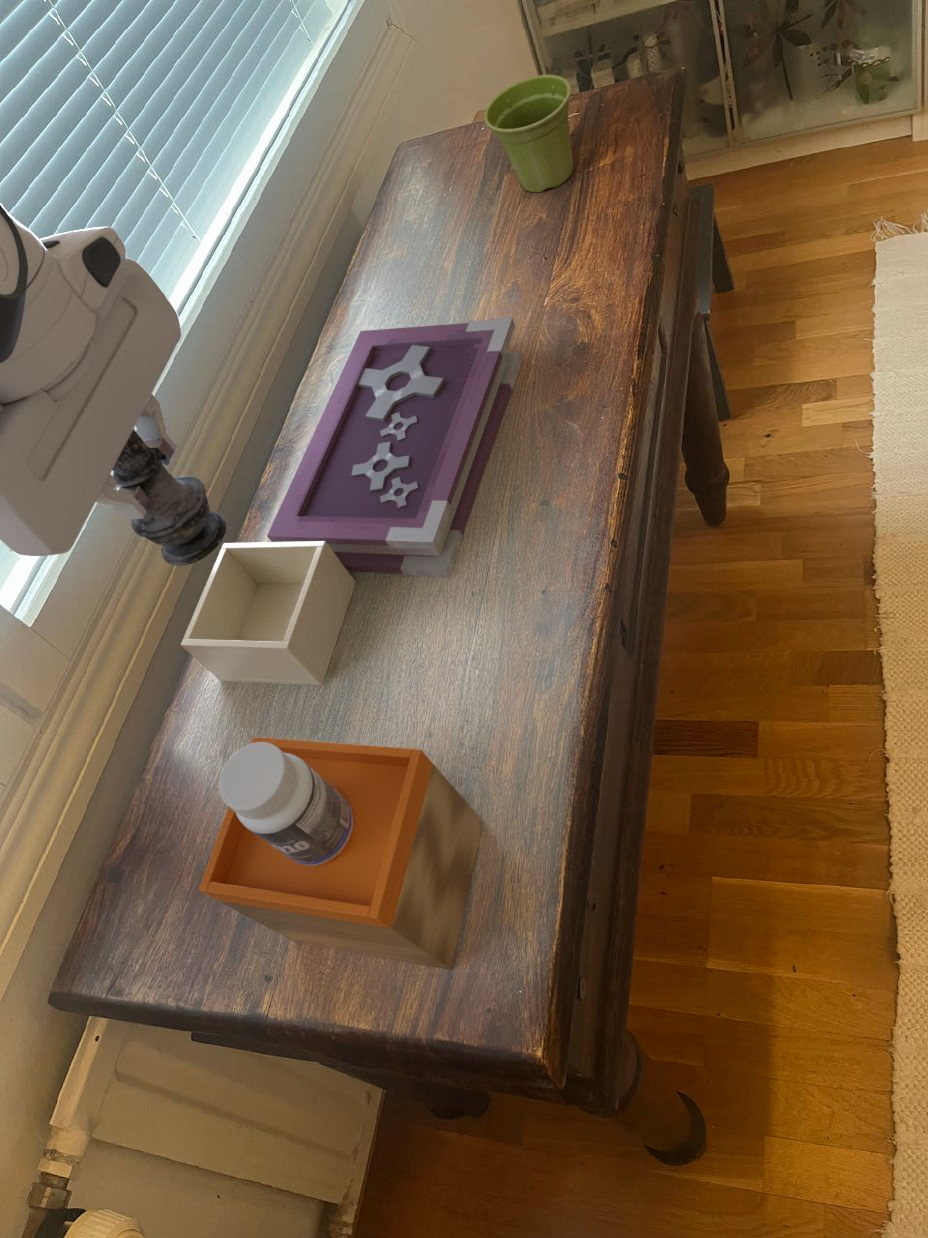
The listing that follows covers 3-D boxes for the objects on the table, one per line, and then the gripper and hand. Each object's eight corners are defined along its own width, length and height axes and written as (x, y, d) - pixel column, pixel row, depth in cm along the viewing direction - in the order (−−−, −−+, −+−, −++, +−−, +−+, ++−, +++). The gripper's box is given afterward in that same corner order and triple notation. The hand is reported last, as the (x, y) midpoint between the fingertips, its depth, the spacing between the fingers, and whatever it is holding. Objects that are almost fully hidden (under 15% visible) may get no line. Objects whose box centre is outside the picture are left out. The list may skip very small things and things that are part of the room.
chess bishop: (193, 577, 66) (89, 453, 57) (143, 558, 69) (38, 438, 60) (245, 518, 68) (153, 390, 59) (194, 502, 71) (100, 379, 62)
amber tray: (392, 928, 52) (377, 918, 50) (216, 900, 57) (197, 890, 55) (433, 763, 57) (421, 749, 55) (268, 750, 61) (253, 736, 60)
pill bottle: (272, 856, 56) (196, 804, 50) (305, 785, 58) (236, 726, 52) (336, 877, 54) (265, 826, 47) (368, 803, 56) (304, 744, 49)
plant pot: (605, 155, 103) (588, 77, 96) (554, 209, 100) (533, 134, 94) (541, 144, 108) (520, 71, 101) (491, 196, 106) (467, 124, 99)
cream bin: (322, 686, 76) (286, 648, 71) (220, 680, 80) (180, 645, 75) (356, 582, 81) (325, 540, 76) (258, 582, 85) (223, 542, 80)
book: (453, 577, 77) (432, 542, 73) (292, 569, 84) (265, 536, 80) (527, 358, 89) (512, 317, 85) (380, 366, 96) (360, 329, 92)
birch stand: (451, 970, 60) (392, 928, 52) (293, 942, 64) (216, 900, 57) (483, 821, 65) (433, 763, 57) (334, 805, 69) (268, 750, 61)
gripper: (-34, 464, 47) (130, 610, 58) (124, 209, 57) (239, 374, 68) (-118, 470, 50) (55, 609, 61) (48, 225, 60) (171, 382, 71)
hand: (153, 483), depth 64 cm, fingers closed on chess bishop, 3 cm apart
